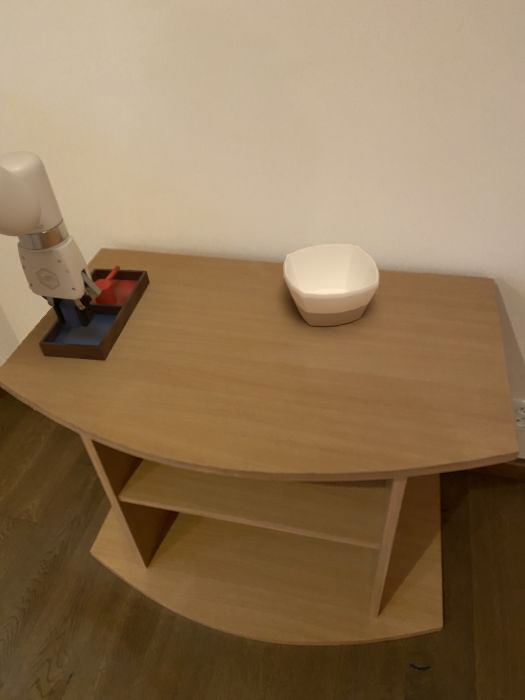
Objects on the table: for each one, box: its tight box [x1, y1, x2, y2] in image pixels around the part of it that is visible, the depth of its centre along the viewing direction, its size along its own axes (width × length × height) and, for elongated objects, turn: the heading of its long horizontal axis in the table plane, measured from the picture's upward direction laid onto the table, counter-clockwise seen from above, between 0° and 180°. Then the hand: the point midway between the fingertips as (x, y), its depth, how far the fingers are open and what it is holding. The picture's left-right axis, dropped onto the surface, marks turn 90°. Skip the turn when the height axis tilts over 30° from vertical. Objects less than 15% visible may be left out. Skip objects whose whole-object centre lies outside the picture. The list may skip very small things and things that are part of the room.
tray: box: [38, 267, 151, 361], centre depth 102 cm, size 25×12×3 cm, turn 170°
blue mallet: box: [59, 289, 87, 328], centre depth 95 cm, size 10×4×4 cm, turn 165°
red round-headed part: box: [94, 265, 121, 304], centre depth 106 cm, size 10×4×4 cm, turn 165°
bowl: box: [282, 243, 381, 327], centre depth 98 cm, size 18×18×9 cm
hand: (77, 320), depth 94 cm, fingers closed on blue mallet, 4 cm apart
